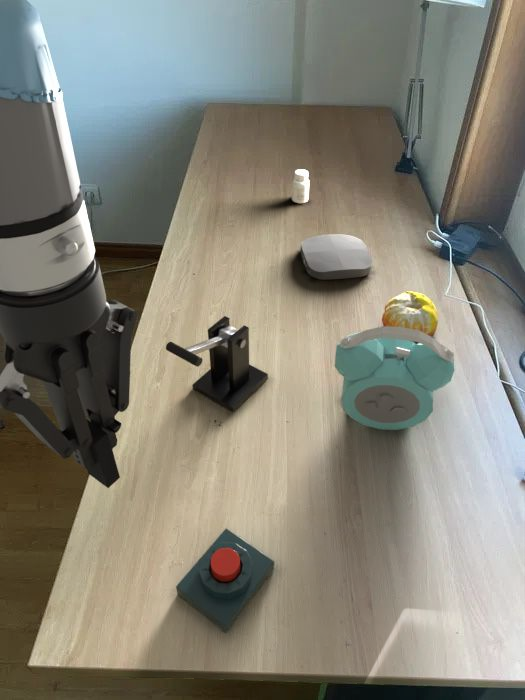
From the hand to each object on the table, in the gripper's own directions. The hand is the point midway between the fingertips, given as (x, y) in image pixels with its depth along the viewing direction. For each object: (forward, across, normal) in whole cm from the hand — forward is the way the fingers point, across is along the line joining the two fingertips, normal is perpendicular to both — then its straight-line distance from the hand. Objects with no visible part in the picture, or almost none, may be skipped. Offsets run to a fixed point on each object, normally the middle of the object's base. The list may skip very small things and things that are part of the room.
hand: (104, 475), depth 53 cm
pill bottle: (+27, +100, +42) cm, 112 cm away
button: (+23, +8, -7) cm, 25 cm away
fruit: (+27, +69, -4) cm, 74 cm away
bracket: (+26, +36, +14) cm, 47 cm away
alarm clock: (+27, +45, -10) cm, 53 cm away
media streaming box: (+27, +81, +20) cm, 87 cm away
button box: (+26, +8, -7) cm, 29 cm away
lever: (+15, +31, +15) cm, 37 cm away
